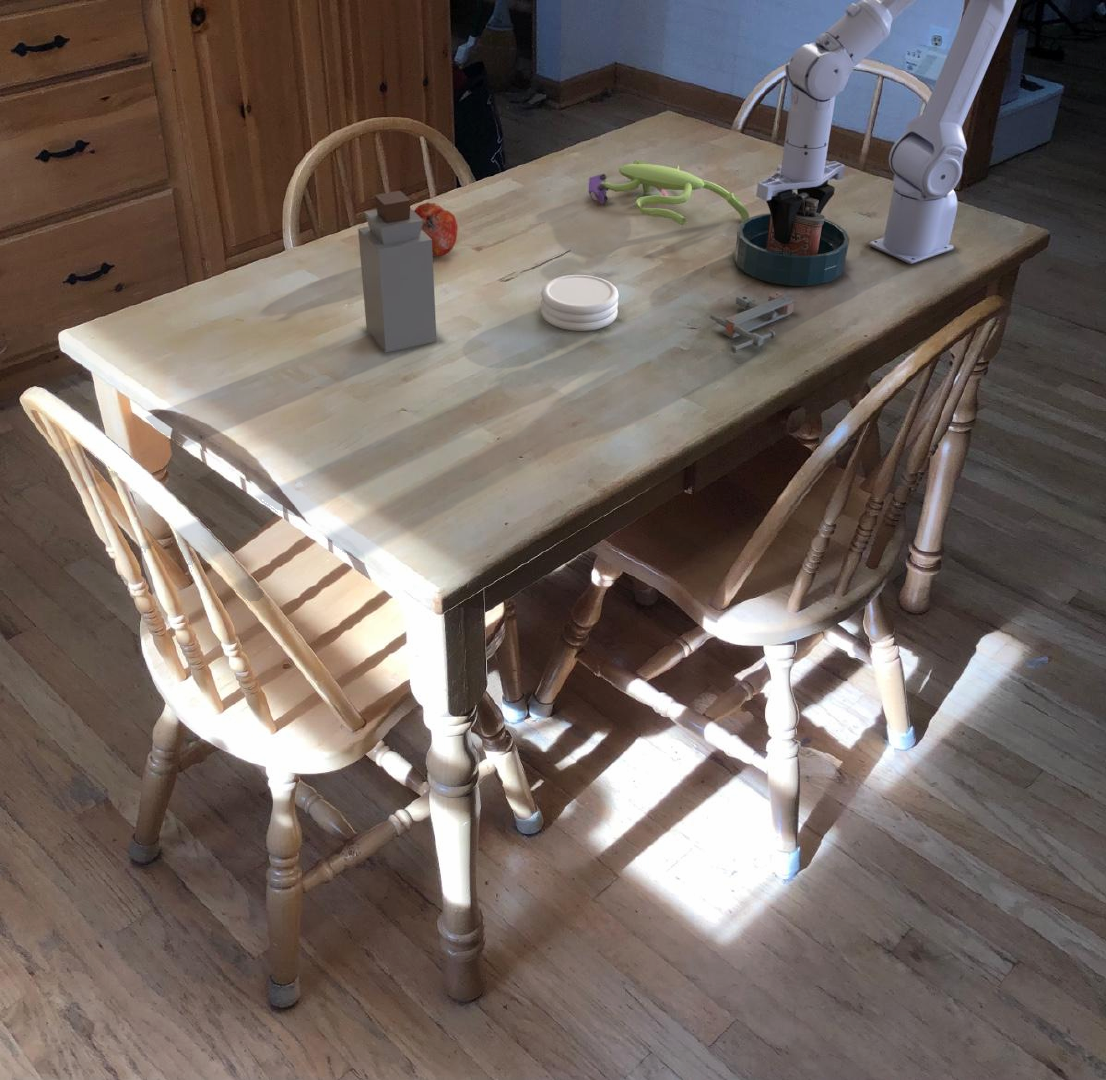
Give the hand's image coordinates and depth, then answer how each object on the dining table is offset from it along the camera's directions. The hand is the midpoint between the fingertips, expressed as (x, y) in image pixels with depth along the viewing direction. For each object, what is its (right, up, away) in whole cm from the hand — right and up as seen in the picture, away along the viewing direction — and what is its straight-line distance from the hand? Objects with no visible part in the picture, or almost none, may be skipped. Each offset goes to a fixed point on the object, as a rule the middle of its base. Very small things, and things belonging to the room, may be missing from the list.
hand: (792, 238), depth 170 cm
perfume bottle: (-53, -16, -16) cm, 57 cm away
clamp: (-8, -15, -13) cm, 21 cm away
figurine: (-16, +9, +18) cm, 25 cm away
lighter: (0, -3, +2) cm, 4 cm away
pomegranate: (-51, -1, +3) cm, 51 cm away
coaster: (-30, -13, -11) cm, 34 cm away
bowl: (0, -3, +2) cm, 4 cm away
